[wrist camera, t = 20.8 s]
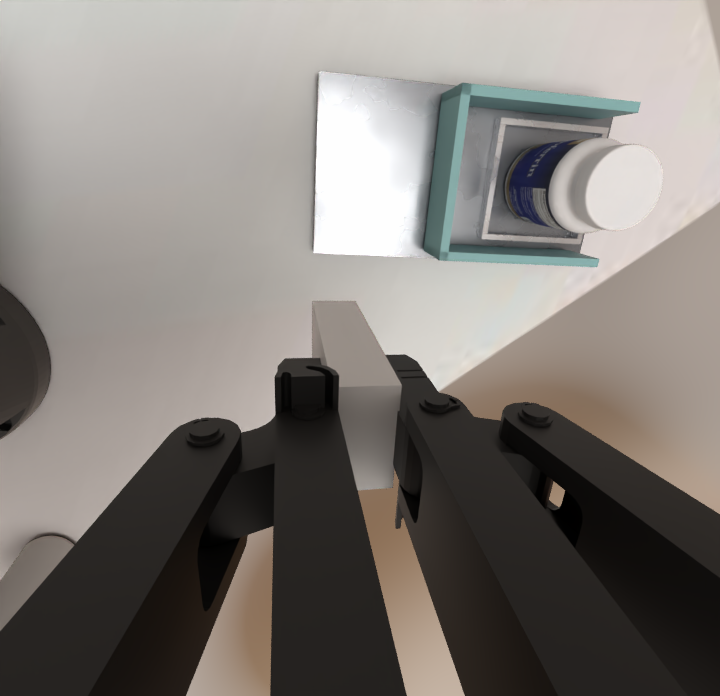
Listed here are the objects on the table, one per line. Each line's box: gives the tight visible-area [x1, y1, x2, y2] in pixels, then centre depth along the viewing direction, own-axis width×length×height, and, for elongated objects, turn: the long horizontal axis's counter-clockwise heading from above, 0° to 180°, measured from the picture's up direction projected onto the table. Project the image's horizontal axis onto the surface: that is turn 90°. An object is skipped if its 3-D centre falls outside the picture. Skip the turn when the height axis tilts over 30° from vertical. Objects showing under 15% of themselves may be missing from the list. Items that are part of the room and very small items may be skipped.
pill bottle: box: [505, 138, 663, 233], centre depth 30 cm, size 6×6×10 cm
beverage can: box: [0, 536, 74, 631], centre depth 36 cm, size 5×5×12 cm
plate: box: [313, 71, 613, 258], centre depth 33 cm, size 22×12×2 cm, turn 85°
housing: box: [424, 83, 641, 267], centre depth 32 cm, size 12×11×4 cm
